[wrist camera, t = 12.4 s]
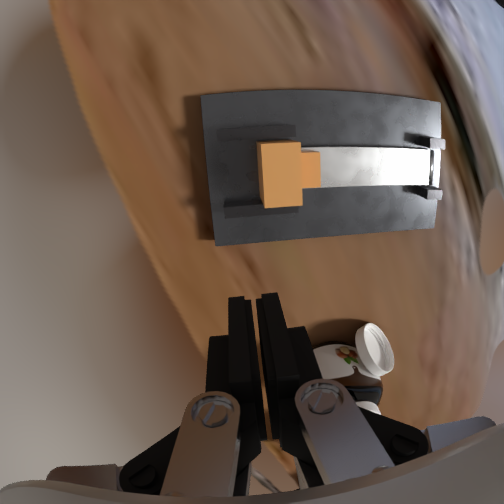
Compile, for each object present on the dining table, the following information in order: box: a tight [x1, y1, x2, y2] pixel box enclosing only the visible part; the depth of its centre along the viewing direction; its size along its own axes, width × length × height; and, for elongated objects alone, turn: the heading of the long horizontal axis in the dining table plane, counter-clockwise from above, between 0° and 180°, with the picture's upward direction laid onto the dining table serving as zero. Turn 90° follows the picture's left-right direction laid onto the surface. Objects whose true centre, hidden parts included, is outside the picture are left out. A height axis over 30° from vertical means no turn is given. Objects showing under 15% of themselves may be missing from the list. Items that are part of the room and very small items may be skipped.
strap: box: [301, 146, 434, 189], centre depth 26 cm, size 4×14×1 cm, turn 93°
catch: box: [256, 139, 321, 208], centre depth 25 cm, size 5×5×4 cm
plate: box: [201, 90, 445, 246], centre depth 27 cm, size 14×24×4 cm, turn 94°
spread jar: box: [313, 323, 394, 415], centre depth 33 cm, size 12×11×12 cm
